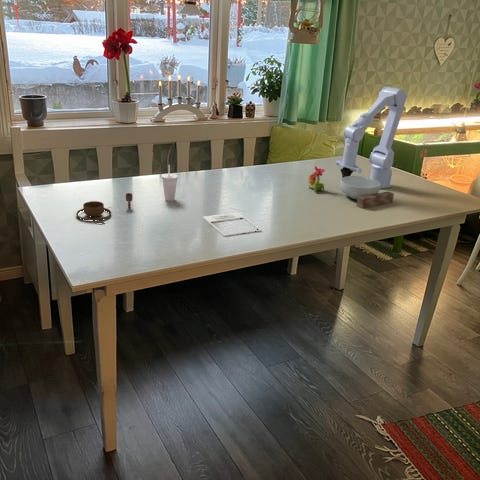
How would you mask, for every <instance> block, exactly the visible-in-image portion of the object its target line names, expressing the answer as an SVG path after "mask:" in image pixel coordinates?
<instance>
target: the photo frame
mask: <svg viewBox="0 0 480 480" xmlns="http://www.w3.org/2000/svg"><path fill="white" fill-rule="evenodd" d="M203 218H204V219H205V220H206V221H207V222H206V221H205V220H204V219H203ZM239 218H244V219H245V220H244V219H243V220H244V221H245V222H247V221H248V222H249V223H250V224H249V223H248V222H247V223H248V224H249V225H251V224H252V225H253V226H254V228H255V227H256V228H257V229H258V230H257V229H256V228H255V229H253V230H252V229H251V230H246V231H238V232H233V233H232V232H231V233H226V234H225V233H224V232H223V231H221V230H220V229H219V228H218V227H217V226H216V225H214V223H219V222H218V221H221V222H226V221H225V220H229V221H234V220H233V219H237V220H240V219H239ZM202 219H203V220H204V221H205V222H206V223H207V224H209V225H210V226H211V225H212V226H213V227H214V228H215V229H214V230H216V231H217V232H218V233H219V234H220V233H221V234H222V235H223V237H224V236H226V237H230V236H229V235H232V236H236V235H235V234H239V235H243V234H242V233H246V234H249V233H248V232H253V233H256V232H255V231H260V232H262V231H263V229H261V228H260V227H259V226H257V225H256V224H254V223H253V222H252V221H250V220H249V219H248V218H247V217H245V216H244V215H243V214H241V213H240V212H239V211H237V212H229V213H228V212H227V213H221V214H214V215H207V216H202ZM211 222H214V223H211ZM252 225H251V226H252ZM212 226H211V227H212ZM253 226H252V227H253ZM213 227H212V228H213ZM221 234H220V235H221ZM222 235H221V236H222Z"/></svg>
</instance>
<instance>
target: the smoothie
mask: <svg viewBox="0 0 480 480" xmlns="http://www.w3.org/2000/svg"><path fill="white" fill-rule="evenodd" d="M167 168H168V172H167V173H164V174H162V175H161V180H162V185H163V194H164V200H165V201H167V202H173V201H175V198H176V191H177V186H178V185H177V183H178V180H179V176H178V174H175V173H171V165H170V164H168V167H167Z"/></svg>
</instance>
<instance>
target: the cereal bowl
mask: <svg viewBox="0 0 480 480" xmlns="http://www.w3.org/2000/svg"><path fill="white" fill-rule="evenodd" d="M339 183H340V184H339V187H340V190H341V192H342V193H343V194H345V195H346V196H348V197H349V198H351V199H353V200H358V197H359V196H365V195H371V194H376V193H380V190H381V189H380V182H379V181H377V180H375V179H372V178H370V177H366V176H361V175H360V176H359V175H350V176H346V177H343V178H342V177H341V178H340V182H339Z"/></svg>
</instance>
